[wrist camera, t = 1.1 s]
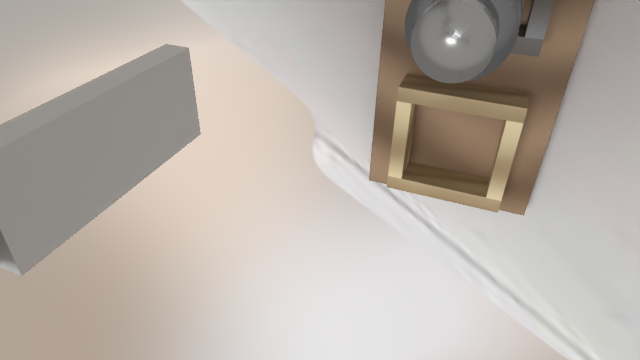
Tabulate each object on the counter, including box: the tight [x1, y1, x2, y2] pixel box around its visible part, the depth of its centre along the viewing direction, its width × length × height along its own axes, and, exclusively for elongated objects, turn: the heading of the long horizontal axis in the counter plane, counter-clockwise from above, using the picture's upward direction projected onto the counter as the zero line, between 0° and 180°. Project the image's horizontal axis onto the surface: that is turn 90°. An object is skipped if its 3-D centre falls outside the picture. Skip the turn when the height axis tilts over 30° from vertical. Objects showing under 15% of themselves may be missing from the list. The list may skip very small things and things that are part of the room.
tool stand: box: [369, 0, 594, 215], centre depth 31 cm, size 22×12×4 cm, turn 179°
